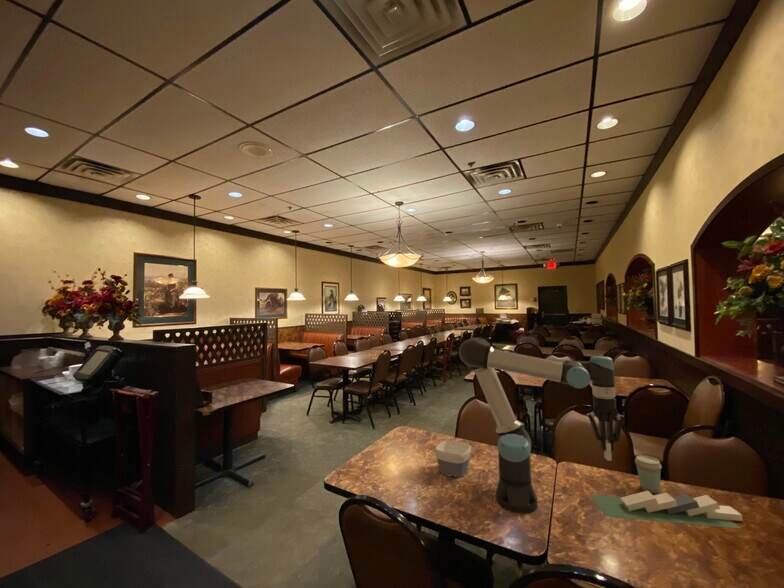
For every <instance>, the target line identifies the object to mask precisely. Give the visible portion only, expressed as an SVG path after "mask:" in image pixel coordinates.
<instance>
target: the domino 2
mask: <svg viewBox="0 0 784 588" xmlns="http://www.w3.org/2000/svg"><path fill="white" fill-rule="evenodd" d="M653 496H654V497H655V498H656V499H657V501H658V504H656V505H652V506H648V507H644V509H645V510H646V511H647V512H648V513H649V512H654V511H658V510H663V509H667V508H672V507H676V506H678V505H677V503H676V500H675V499H673V498H672V497H673V496H671V495H670V494H668V492H663V493H659V494H658V493H657V494H655V495H654V494H653Z"/></svg>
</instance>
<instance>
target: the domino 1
mask: <svg viewBox="0 0 784 588" xmlns="http://www.w3.org/2000/svg"><path fill="white" fill-rule="evenodd" d="M620 497H621V498H620V499H621V501H622V503H623V504H624V506H625V507H626V508H627V509H628V510H629V511H632V510H636V509H640V508H644V507H648V506H652V505H656V504H658V501H657V499H656V498H655V497H654V494H653V493H650V492H649V491H645V490H643V491H641V492H637V493H633V494H630V495H626V496H620Z"/></svg>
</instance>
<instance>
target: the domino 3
mask: <svg viewBox="0 0 784 588" xmlns="http://www.w3.org/2000/svg"><path fill="white" fill-rule="evenodd" d="M692 498H693V499H694V500H696V501H697V503H698V505H699V508H695V509H690V510H686V511H684V512H685V513H686V514H687V515H688V516H693V515H697V514H701V513H705V512H709V511H713V510H717V509H720V507H719V503H718V502H717V501H716V500H715V499H713V498H711V497H710V496H709V495H708V494H705V495H701V496H697V497H692Z"/></svg>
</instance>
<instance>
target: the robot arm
mask: <svg viewBox="0 0 784 588" xmlns="http://www.w3.org/2000/svg"><path fill="white" fill-rule="evenodd" d="M458 349H459V350H458V353H459V354H458V355H459V358H460V360H461V361H462V362H463V363H464V364H465V365H466V366H468V368H469V370H470V372H471V373H474V374H475V375H476V378H477V380H478V383H479V385H480V389H481V390H482V392H483V395H484V396H485V400H486V402H487V405H488V406H489V409H490V411H491V414H492V416H493V419H494V421H495V423H496V427H495V433H496V435H497V438H498V440H497V453H498V473H499V474H498V475H499V476H498V478H499V480H498V483H497V485H496V489H495V501H496V503H497V504H498V505H499V506H500V507H501V508H503V509H505V510H507V511H510V512H513V513H517V514H529V513H533V512H534V511H537V508H538V496H537V495H536V492H535V489H534V486H533V483H532V471H531V470H532V469H531V455H532V454H531V453H532V452H531V451H532V439H531V437H530V435H529V433H528V432H527V430H525V427H524V426H523V423H522V422H521V421H520V420H518V419H517V418H516V416H515V413H514V411H513V409H512V406H511V404H510V402H509V399H508V397H507V395H506V392H505V389H504V388H503V386H502V382H501V381H500V378H499V376H498V375H497V371H496V369H497V370H501V371H505V372H510V373H515V374H519V375H525V376H528V377H534V378H537V379H538V378H539V379H544V380H548V381H553V382H556V383H557V382H558V383H561V384H564V385H568V386H571V387H572V388H575V389H583V388H586V387H587V386H589V384H590V382H591V387H592V389H591V391H592V402H593V403H592V406H593V408H592V411H591V412H589V413H588V412H587V413H586V414H585V416H586V417H587V418H588V419H589V422H590V426H591V430H592V432H593V436H594V438H595V439H596V440H597V441H600V448H601V450H602V451H603V455H604V459H605V460H606V461H608V462H609V461H611V462H612V461H613V459H612V452H614V449H615V448H614V444H615V443H616V442H619V441H620V436H621V432H622V427H623V423H624V421H625V420H626V417H625V416H624V415H622V414H620V413H619V411H618V410H617V399H616V398H615V397H616V395H617V394H616V385H615V384H616V383H615V381H616V380H615V367H614V366H615V365H614V360H613V358H611V357H609V356H603V355H602V356H601V355H596V356H595V355H593V356H590V359H589V360H588V361H587V360H586V361H583V360H568V359H567V360H558V361H557V360H550V359H546V358H541V357H537V356H531V355H525V354H520V353H516V352H510V351H505V350H500V349H495V348H494V347H493V346H492V345H490V344H489V342H488V341H487V340H486V339H484V338H482V337H479V336H476V337H472V338H469V339H466V340H465V341H463V342H462V343H461V344H460V346H459V348H458ZM595 417H596V418H597V420H598V426H597V423H596V420H595ZM615 419H616V420H615ZM614 420H615V424H614ZM613 425H614V427H613ZM598 427H599V429H598ZM606 432H607V433H606Z"/></svg>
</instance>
